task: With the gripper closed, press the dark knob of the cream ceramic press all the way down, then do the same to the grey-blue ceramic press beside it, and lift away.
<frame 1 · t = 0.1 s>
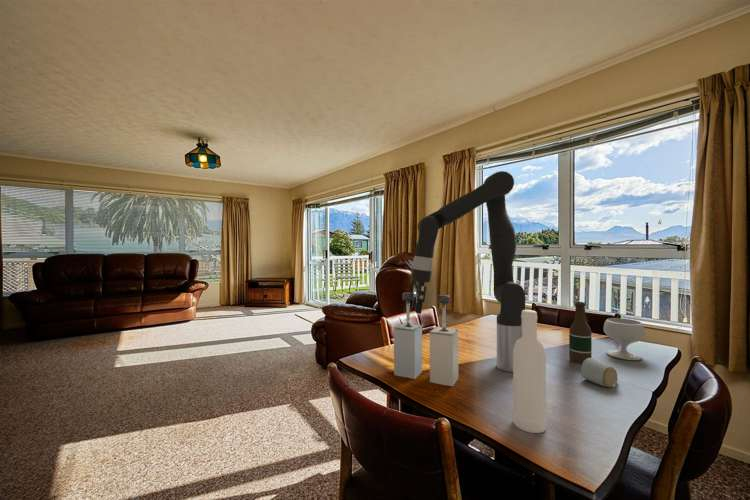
hand: (416, 310, 122), 23 cm above the table, tool pointing down, fingers open, 8 cm apart
ceramic mug: (600, 383, 109), on the table
grey plunger: (408, 313, 118), point 22 cm above the table, slide at 0.0 cm
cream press: (444, 379, 112), on the table
beer bottle: (580, 361, 130), on the table
bottle: (529, 425, 84), on the table
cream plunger: (444, 316, 112), point 22 cm above the table, slide at 0.0 cm
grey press: (408, 373, 118), on the table
chalice: (623, 356, 135), on the table
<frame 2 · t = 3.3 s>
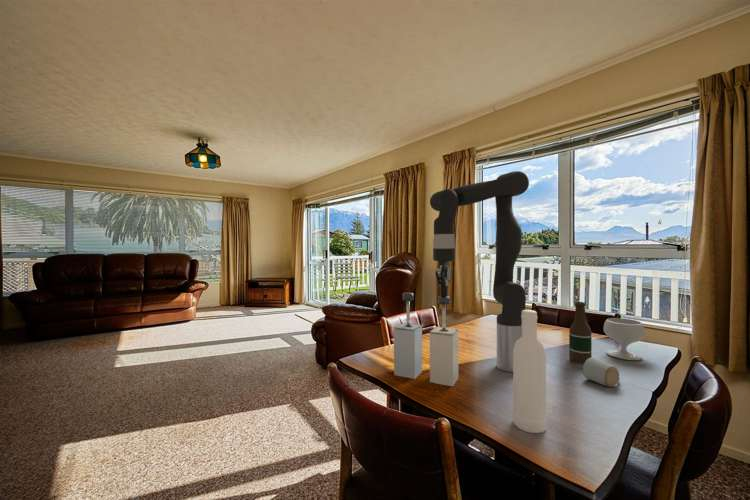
hand: (444, 296, 112), 29 cm above the table, tool pointing down, fingers closed
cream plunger: (444, 317, 112), point 22 cm above the table, slide at 0.3 cm, touching gripper
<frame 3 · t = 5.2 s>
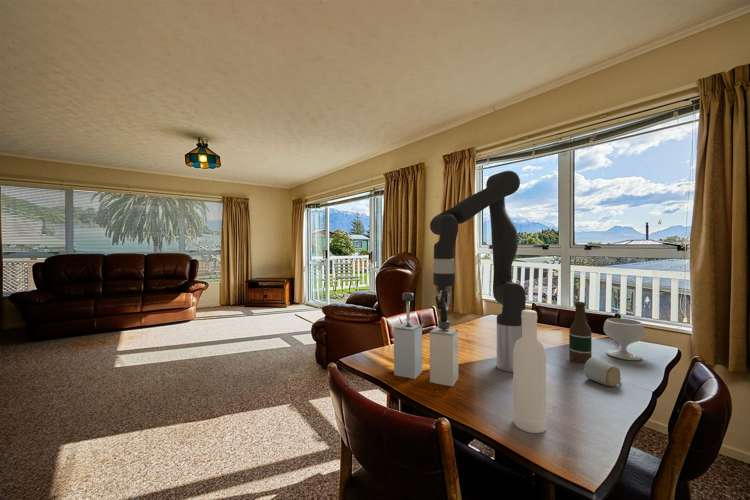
hand: (444, 320, 112), 21 cm above the table, tool pointing down, fingers closed
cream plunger: (444, 341, 112), point 13 cm above the table, slide at 8.9 cm, touching gripper
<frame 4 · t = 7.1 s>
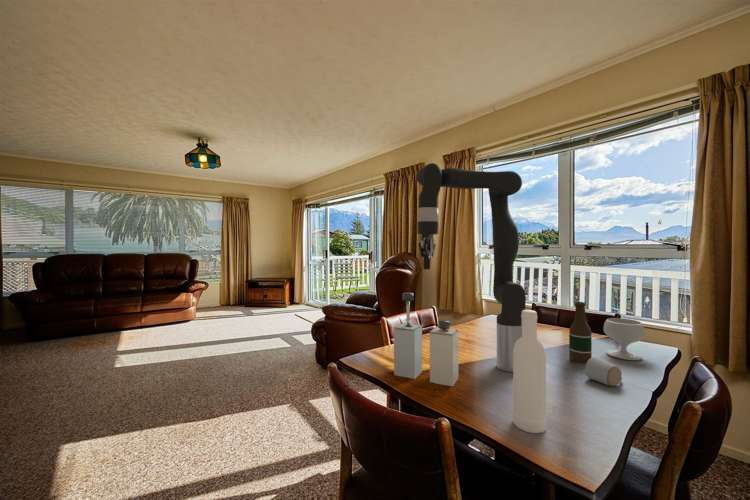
hand: (426, 269, 114), 39 cm above the table, tool pointing down, fingers closed
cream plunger: (444, 341, 112), point 13 cm above the table, slide at 8.9 cm
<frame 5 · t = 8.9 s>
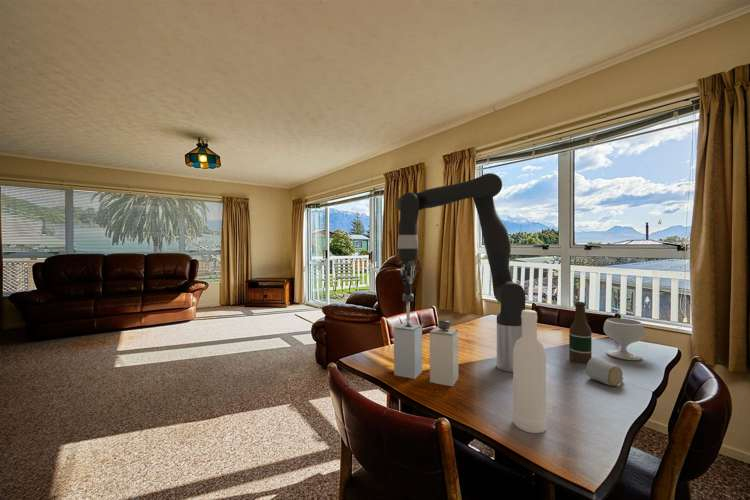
hand: (408, 294, 118), 29 cm above the table, tool pointing down, fingers closed
grey plunger: (408, 314, 118), point 22 cm above the table, slide at 0.3 cm, touching gripper
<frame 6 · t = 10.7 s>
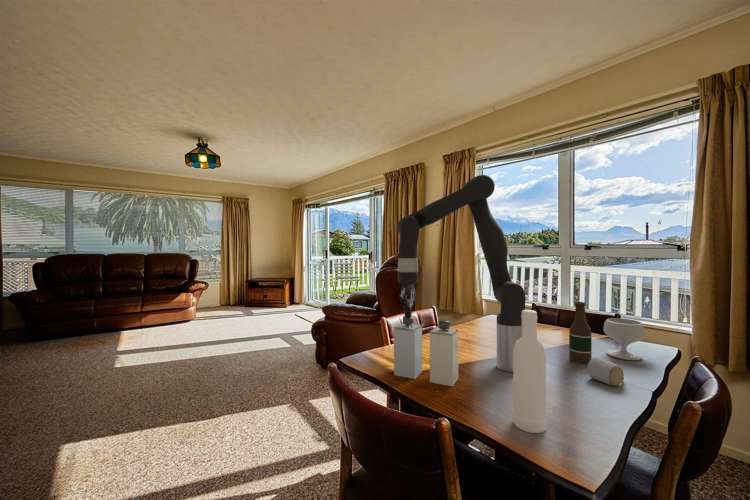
hand: (408, 317, 118), 21 cm above the table, tool pointing down, fingers closed
grey plunger: (408, 336, 118), point 14 cm above the table, slide at 8.8 cm, touching gripper
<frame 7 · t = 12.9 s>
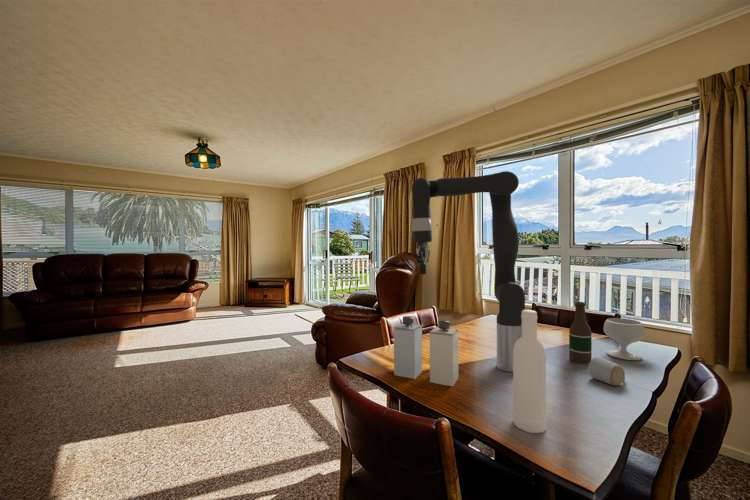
hand: (423, 274, 125), 36 cm above the table, tool pointing down, fingers closed
grey plunger: (408, 337, 118), point 13 cm above the table, slide at 8.9 cm
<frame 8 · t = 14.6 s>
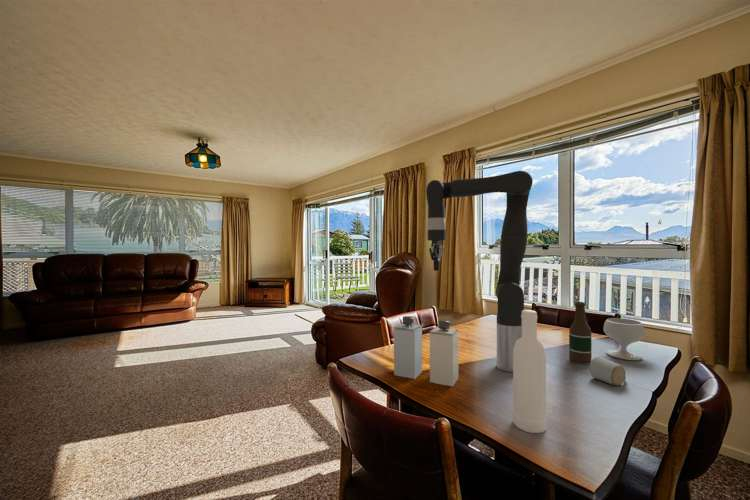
hand: (436, 270, 134), 37 cm above the table, tool pointing down, fingers closed
at the end: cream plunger slide at 8.9 cm; grey plunger slide at 8.9 cm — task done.
